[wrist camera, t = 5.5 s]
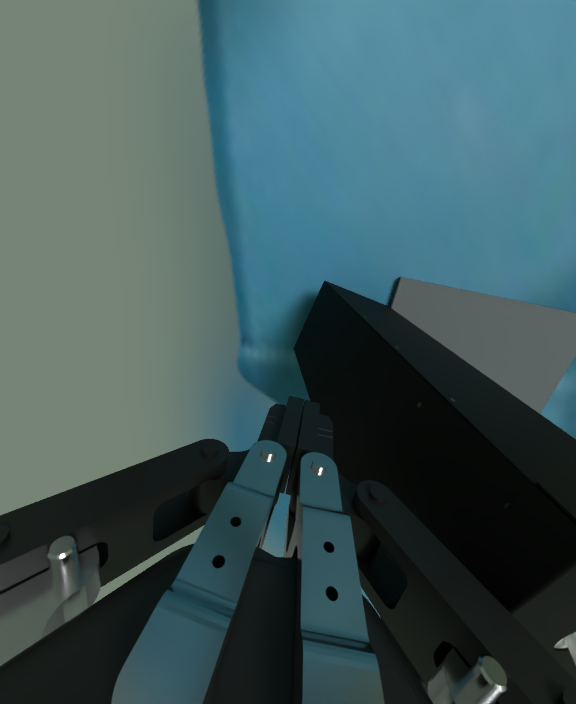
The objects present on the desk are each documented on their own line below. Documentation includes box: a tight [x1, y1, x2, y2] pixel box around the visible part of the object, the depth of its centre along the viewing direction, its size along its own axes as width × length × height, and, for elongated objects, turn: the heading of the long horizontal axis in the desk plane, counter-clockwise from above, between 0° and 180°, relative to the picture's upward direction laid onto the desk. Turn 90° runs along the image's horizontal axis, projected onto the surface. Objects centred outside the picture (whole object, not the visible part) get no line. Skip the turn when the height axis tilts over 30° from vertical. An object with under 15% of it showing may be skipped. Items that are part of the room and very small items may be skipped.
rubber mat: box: [390, 277, 576, 414], centre depth 30 cm, size 12×18×1 cm, turn 79°
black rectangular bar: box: [294, 281, 576, 694], centre depth 18 cm, size 8×8×28 cm
